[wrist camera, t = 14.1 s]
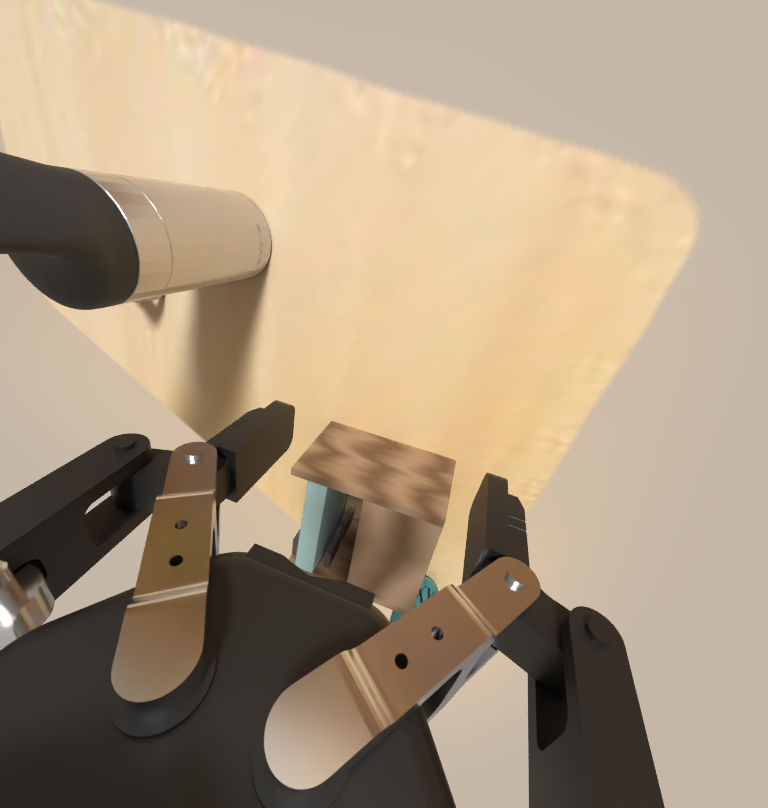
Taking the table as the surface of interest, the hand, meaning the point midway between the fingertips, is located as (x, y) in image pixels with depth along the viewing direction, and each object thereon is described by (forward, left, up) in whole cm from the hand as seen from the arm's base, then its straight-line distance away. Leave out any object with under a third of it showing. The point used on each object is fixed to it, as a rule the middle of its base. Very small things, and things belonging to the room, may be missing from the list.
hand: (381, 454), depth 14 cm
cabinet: (-4, -28, -28) cm, 39 cm away
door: (-10, -29, -26) cm, 40 cm away
